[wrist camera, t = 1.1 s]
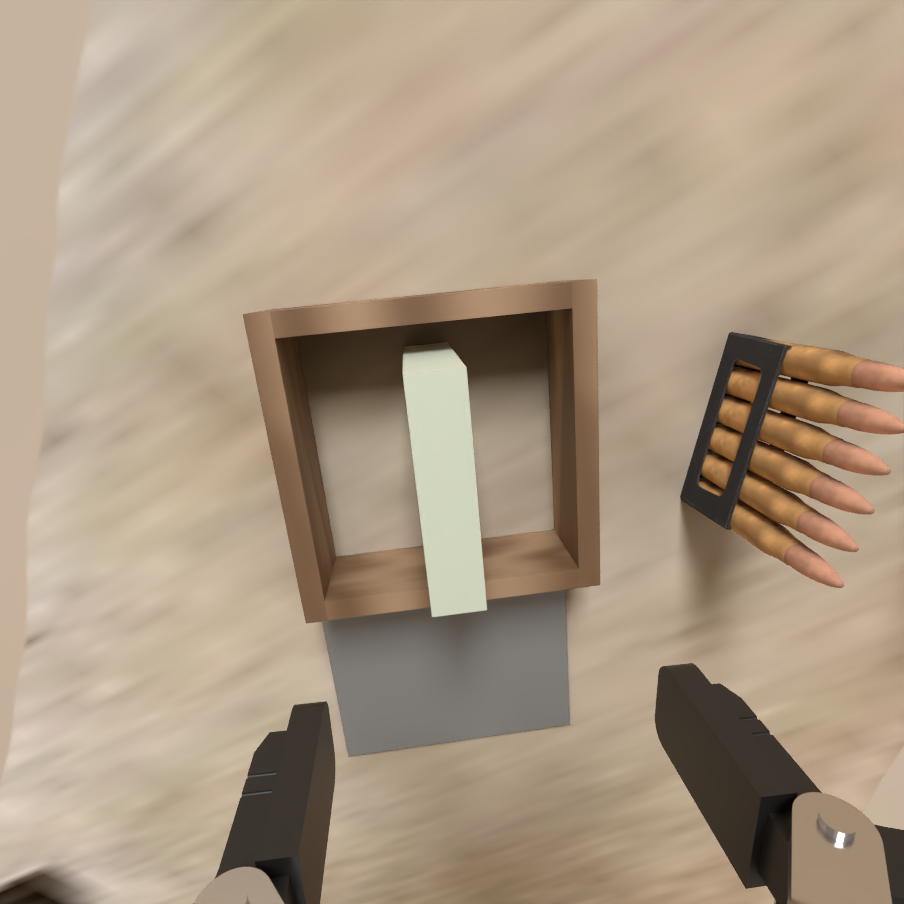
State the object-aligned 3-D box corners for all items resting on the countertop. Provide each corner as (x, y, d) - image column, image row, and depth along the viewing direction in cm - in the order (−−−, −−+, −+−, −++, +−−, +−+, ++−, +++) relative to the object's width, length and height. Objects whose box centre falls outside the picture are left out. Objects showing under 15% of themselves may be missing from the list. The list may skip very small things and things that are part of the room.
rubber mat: (563, 563, 35) (564, 565, 35) (568, 721, 39) (569, 724, 39) (318, 594, 34) (317, 597, 34) (348, 753, 38) (348, 756, 38)
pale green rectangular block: (447, 342, 30) (466, 367, 21) (463, 518, 34) (486, 610, 24) (403, 346, 30) (402, 374, 21) (424, 523, 34) (432, 617, 24)
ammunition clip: (705, 502, 35) (853, 607, 23) (679, 499, 35) (815, 603, 23) (757, 336, 32) (956, 364, 20) (729, 331, 32) (913, 357, 20)
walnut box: (566, 280, 30) (596, 279, 25) (573, 544, 35) (600, 585, 30) (268, 309, 29) (242, 314, 24) (319, 576, 34) (306, 623, 29)
